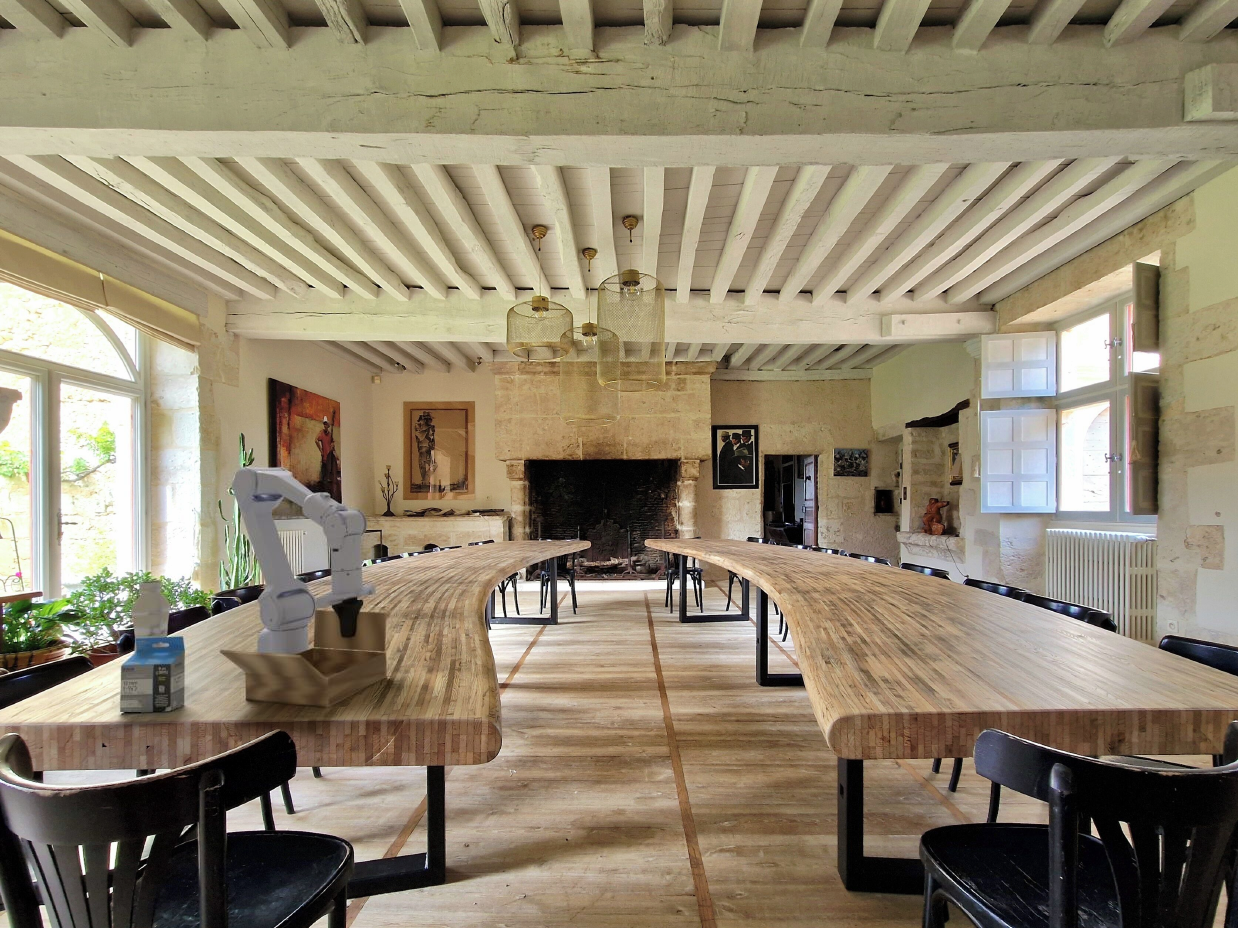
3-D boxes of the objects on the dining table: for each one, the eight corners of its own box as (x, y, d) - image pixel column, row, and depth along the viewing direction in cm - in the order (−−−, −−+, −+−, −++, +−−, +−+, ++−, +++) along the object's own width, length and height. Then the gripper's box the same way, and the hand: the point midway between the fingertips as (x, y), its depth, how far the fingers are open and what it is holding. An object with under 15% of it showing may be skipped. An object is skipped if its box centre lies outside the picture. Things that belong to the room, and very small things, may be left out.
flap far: (315, 610, 125) (316, 609, 125) (313, 647, 124) (315, 646, 124) (385, 612, 120) (386, 612, 120) (383, 651, 119) (385, 651, 120)
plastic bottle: (132, 687, 117) (131, 585, 118) (130, 679, 122) (129, 582, 123) (173, 679, 122) (171, 581, 122) (169, 672, 127) (168, 578, 127)
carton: (245, 699, 109) (245, 672, 109) (313, 671, 124) (312, 647, 124) (327, 707, 104) (326, 678, 104) (386, 677, 119) (386, 652, 119)
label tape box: (118, 714, 104) (117, 643, 104) (136, 705, 108) (136, 637, 108) (170, 712, 104) (169, 641, 104) (186, 703, 108) (185, 635, 108)
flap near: (248, 671, 109) (246, 673, 109) (220, 649, 104) (219, 651, 104) (325, 677, 104) (324, 679, 104) (300, 655, 99) (299, 657, 99)
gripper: (336, 574, 114) (338, 646, 113) (386, 564, 128) (388, 628, 127) (306, 575, 116) (308, 645, 115) (359, 564, 130) (361, 627, 129)
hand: (348, 636), depth 121 cm, fingers closed, pressing on flap far
